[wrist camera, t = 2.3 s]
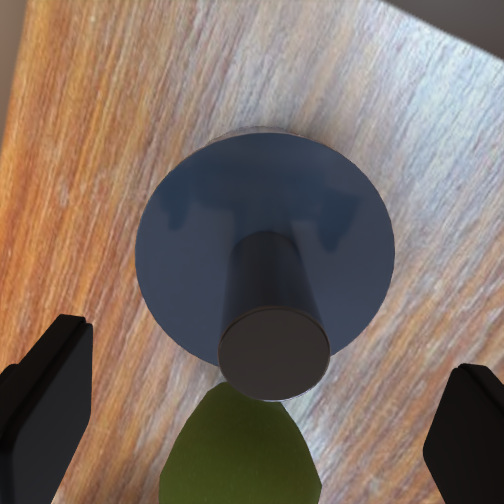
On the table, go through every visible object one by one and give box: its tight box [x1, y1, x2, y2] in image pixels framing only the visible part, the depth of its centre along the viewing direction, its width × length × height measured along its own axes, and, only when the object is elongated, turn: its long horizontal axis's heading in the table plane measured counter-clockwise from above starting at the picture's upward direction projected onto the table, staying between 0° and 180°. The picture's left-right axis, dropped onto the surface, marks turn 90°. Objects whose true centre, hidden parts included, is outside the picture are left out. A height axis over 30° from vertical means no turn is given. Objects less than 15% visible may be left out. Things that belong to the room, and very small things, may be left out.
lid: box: [135, 131, 395, 402], centre depth 15 cm, size 11×11×8 cm
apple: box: [159, 381, 322, 504], centre depth 25 cm, size 9×8×12 cm
